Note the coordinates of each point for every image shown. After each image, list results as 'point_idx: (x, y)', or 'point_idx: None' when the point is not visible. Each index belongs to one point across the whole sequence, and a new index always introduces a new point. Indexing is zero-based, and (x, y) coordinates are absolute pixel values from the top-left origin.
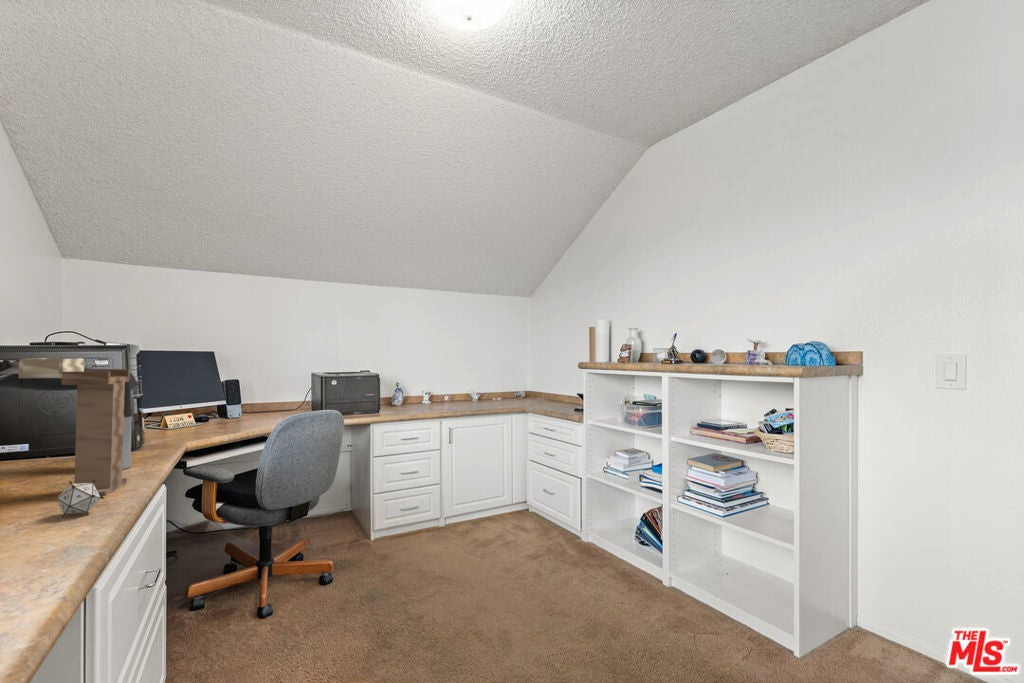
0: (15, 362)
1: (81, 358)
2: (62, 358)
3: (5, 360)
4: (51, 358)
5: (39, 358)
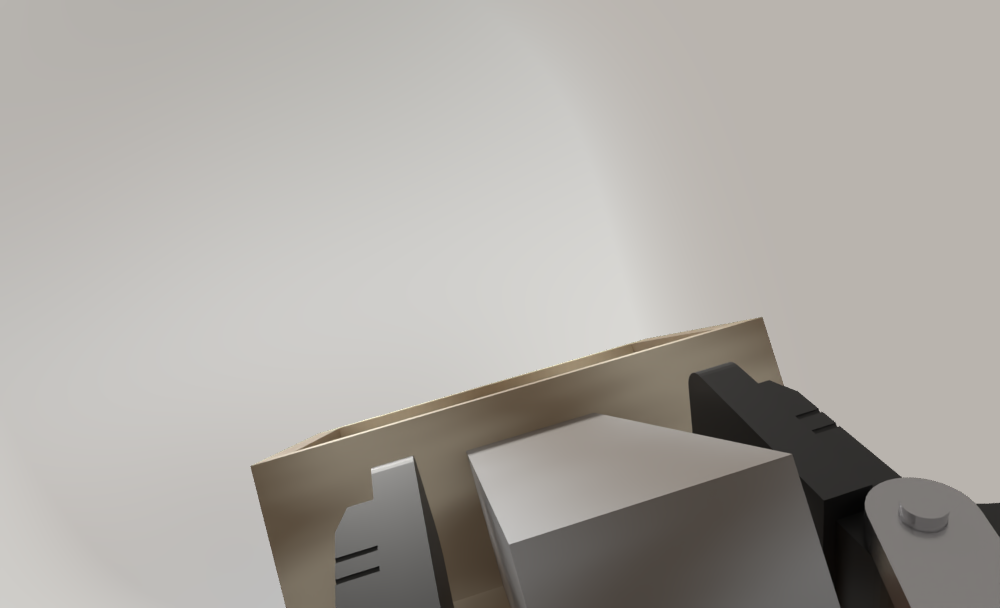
0: (628, 421)
1: (330, 430)
2: (320, 438)
3: (732, 366)
4: (305, 447)
5: (415, 417)
